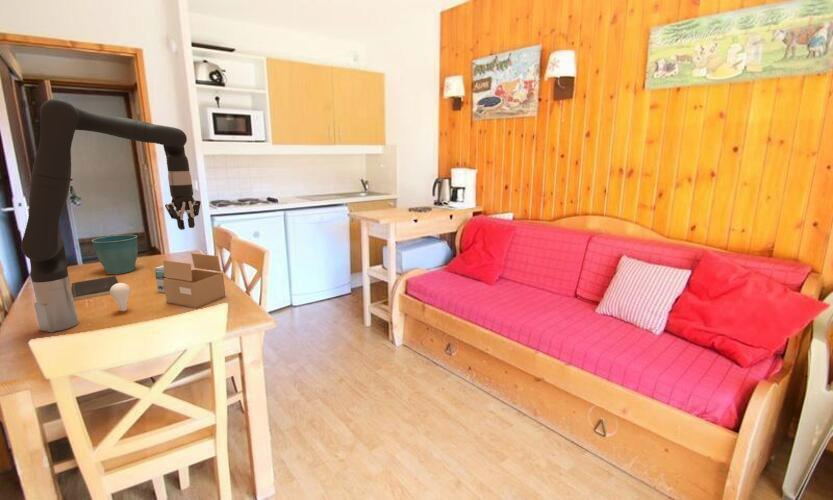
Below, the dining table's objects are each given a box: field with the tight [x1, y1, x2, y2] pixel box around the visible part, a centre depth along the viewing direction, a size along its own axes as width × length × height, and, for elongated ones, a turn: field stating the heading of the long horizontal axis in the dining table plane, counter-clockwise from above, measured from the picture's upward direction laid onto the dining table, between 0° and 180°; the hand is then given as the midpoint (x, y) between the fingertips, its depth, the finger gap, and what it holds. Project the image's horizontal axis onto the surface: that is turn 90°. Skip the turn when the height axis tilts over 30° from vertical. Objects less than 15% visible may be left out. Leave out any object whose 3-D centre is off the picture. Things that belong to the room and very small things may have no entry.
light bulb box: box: [154, 265, 167, 293], centre depth 176 cm, size 11×7×11 cm, turn 168°
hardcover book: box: [71, 275, 119, 301], centre depth 177 cm, size 16×23×2 cm
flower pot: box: [91, 234, 139, 275], centre depth 201 cm, size 18×18×17 cm
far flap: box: [191, 252, 222, 272], centre depth 166 cm, size 6×14×1 cm
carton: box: [163, 268, 227, 309], centre depth 163 cm, size 14×16×10 cm
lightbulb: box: [109, 282, 131, 312], centre depth 151 cm, size 6×6×11 cm
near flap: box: [162, 259, 192, 281], centre depth 155 cm, size 6×14×1 cm
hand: (186, 228), depth 157 cm, fingers open, 3 cm apart
